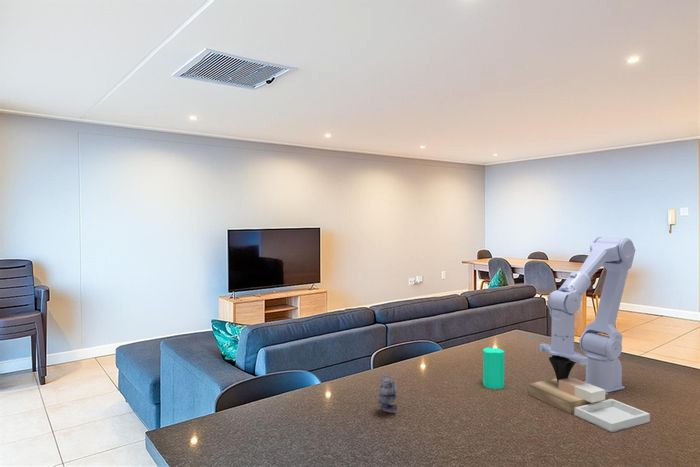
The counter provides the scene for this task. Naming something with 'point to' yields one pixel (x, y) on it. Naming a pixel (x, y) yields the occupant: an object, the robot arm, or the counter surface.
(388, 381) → the grey stone figurine
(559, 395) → the board
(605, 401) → the tray
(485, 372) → the candle
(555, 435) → the counter surface
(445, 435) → the counter surface
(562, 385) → the terracotta tile
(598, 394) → the cream tile
